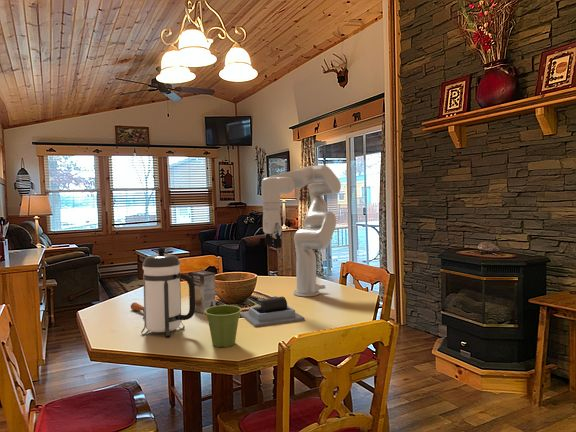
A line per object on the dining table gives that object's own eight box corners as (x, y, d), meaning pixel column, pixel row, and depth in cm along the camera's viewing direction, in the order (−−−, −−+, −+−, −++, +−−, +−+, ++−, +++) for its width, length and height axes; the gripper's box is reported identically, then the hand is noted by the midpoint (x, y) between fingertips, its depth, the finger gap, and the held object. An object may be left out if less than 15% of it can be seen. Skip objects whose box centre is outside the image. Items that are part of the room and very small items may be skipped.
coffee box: (190, 310, 183) (190, 272, 182) (203, 307, 187) (202, 270, 187) (203, 314, 176) (203, 274, 176) (216, 311, 181) (215, 272, 180)
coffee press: (143, 342, 143) (141, 251, 142) (139, 328, 158) (137, 246, 156) (196, 335, 150) (194, 248, 148) (187, 322, 165) (185, 243, 163)
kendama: (142, 299, 187) (162, 304, 172) (140, 313, 186) (161, 319, 171) (128, 299, 183) (148, 303, 168) (126, 313, 182) (146, 319, 167)
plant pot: (198, 348, 137) (197, 312, 136) (217, 336, 148) (216, 303, 148) (231, 352, 133) (230, 316, 132) (248, 340, 144) (248, 306, 143)
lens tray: (286, 309, 183) (286, 301, 182) (304, 320, 166) (304, 311, 166) (240, 314, 175) (240, 306, 175) (254, 327, 158) (254, 317, 158)
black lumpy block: (265, 319, 165) (265, 301, 165) (256, 314, 171) (256, 297, 171) (287, 314, 170) (287, 297, 170) (278, 311, 176) (277, 294, 176)
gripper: (256, 206, 192) (257, 244, 193) (271, 208, 176) (272, 250, 177) (272, 205, 195) (273, 243, 196) (288, 207, 179) (289, 248, 180)
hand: (273, 246), depth 187 cm, fingers open, 9 cm apart
